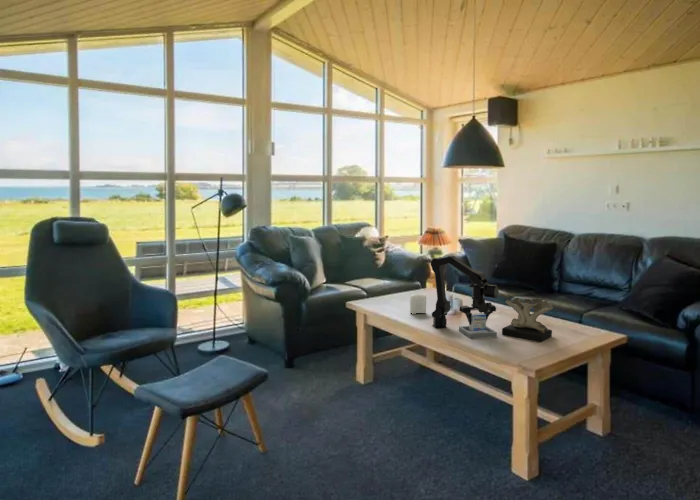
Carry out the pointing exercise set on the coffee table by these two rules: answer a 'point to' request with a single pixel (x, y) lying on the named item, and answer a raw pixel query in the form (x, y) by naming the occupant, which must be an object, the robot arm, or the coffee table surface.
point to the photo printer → (418, 303)
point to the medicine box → (478, 322)
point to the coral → (528, 320)
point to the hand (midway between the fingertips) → (477, 324)
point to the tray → (477, 332)
